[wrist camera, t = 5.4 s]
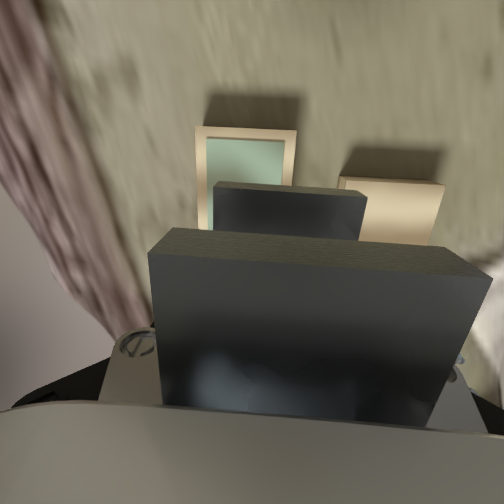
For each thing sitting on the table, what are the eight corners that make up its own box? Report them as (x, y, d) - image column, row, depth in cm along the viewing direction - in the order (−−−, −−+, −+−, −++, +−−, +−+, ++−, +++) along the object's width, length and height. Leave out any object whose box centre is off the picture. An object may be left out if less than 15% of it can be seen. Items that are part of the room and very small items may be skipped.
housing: (318, 375, 14) (360, 570, 8) (216, 366, 14) (177, 551, 8) (356, 190, 10) (492, 278, 4) (218, 180, 10) (147, 252, 4)
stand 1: (283, 245, 32) (284, 256, 29) (205, 240, 32) (198, 251, 29) (294, 131, 27) (297, 130, 24) (202, 126, 27) (194, 125, 25)
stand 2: (399, 284, 33) (411, 297, 30) (322, 279, 33) (327, 292, 30) (428, 180, 28) (445, 185, 25) (338, 175, 29) (346, 180, 26)
